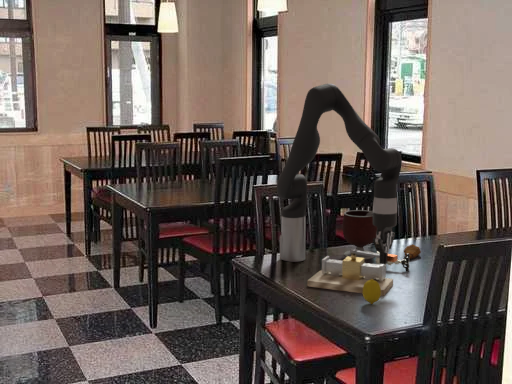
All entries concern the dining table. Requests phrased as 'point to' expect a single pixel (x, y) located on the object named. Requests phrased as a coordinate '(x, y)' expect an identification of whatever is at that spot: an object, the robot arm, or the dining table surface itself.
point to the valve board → (345, 283)
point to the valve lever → (374, 255)
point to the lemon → (371, 291)
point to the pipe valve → (353, 268)
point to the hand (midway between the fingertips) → (383, 263)
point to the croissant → (412, 251)
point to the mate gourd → (359, 230)
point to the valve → (403, 262)
